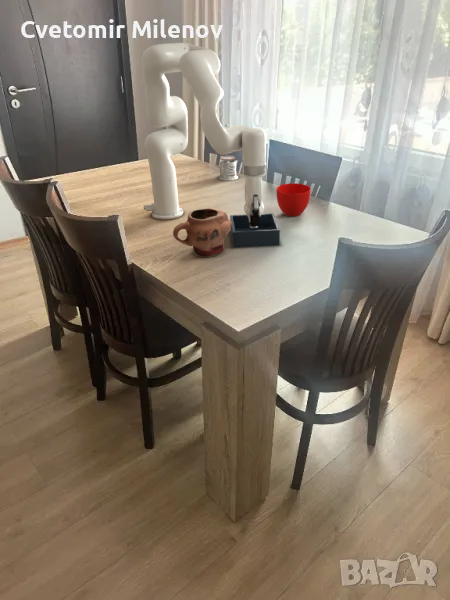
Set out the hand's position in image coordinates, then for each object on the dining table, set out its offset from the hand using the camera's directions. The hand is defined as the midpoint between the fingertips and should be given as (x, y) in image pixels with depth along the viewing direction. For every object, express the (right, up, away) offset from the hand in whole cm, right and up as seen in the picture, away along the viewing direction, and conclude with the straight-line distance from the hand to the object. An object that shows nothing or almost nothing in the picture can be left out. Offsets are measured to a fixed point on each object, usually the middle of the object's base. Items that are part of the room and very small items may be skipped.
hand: (253, 221), depth 152 cm
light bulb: (0, -2, +1) cm, 3 cm away
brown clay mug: (-17, -12, -6) cm, 21 cm away
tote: (0, -5, +3) cm, 6 cm away
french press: (-9, +33, +66) cm, 74 cm away
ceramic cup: (+17, +8, +23) cm, 30 cm away
